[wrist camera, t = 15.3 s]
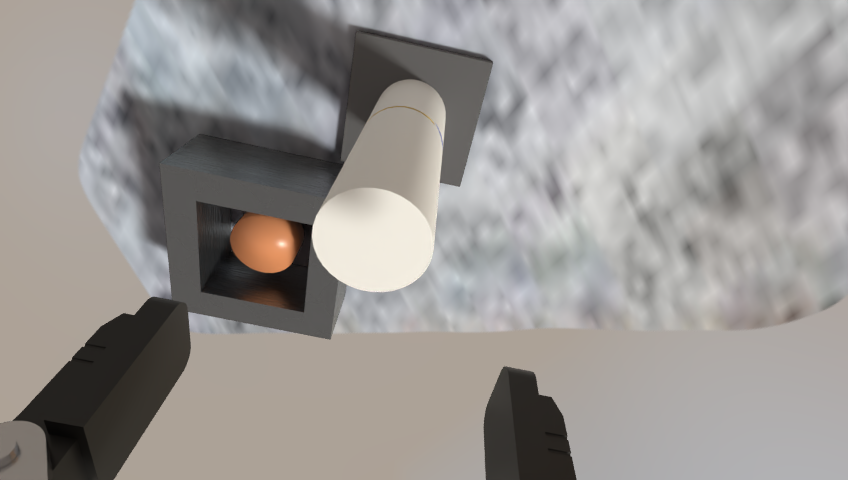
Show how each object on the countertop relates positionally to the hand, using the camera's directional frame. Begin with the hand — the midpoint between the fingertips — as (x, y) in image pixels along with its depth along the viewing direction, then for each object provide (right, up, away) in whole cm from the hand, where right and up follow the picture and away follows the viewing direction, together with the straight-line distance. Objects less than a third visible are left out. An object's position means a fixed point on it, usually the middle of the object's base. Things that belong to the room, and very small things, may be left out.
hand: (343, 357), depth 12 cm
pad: (+1, +11, +18) cm, 21 cm away
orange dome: (-9, +4, +22) cm, 24 cm away
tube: (+1, +11, +18) cm, 21 cm away
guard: (-8, +4, +23) cm, 25 cm away
